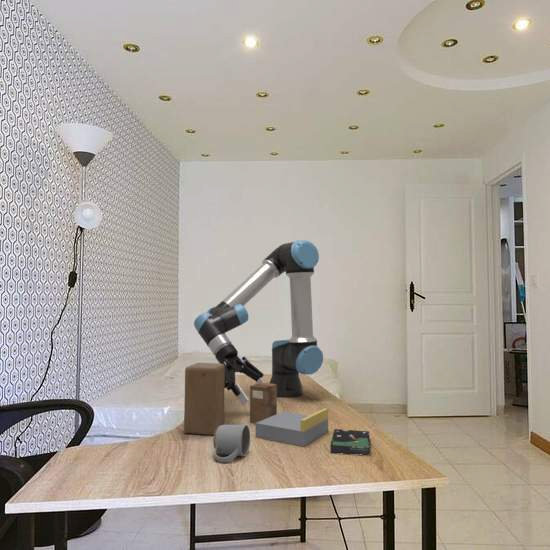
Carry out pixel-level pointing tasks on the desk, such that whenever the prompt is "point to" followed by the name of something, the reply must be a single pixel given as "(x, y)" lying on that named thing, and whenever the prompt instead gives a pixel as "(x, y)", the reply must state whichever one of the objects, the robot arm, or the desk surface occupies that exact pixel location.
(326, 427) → the dock
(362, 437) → the disk drive
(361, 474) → the desk surface
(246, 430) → the ceramic mug
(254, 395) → the cardboard box
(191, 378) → the wooden block
